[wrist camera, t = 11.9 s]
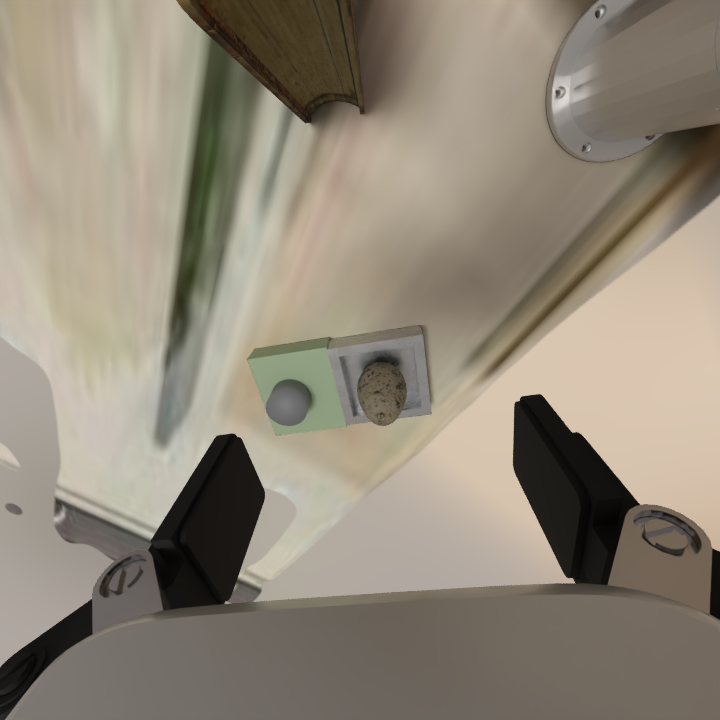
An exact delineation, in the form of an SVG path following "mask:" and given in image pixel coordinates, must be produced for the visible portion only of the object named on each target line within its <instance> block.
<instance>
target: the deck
mask: <svg viewBox="0 0 720 720" xmlns="http://www.w3.org/2000/svg"><path fill="white" fill-rule="evenodd" d="M329 340H330V338H329V337H327V338H321V339H315V340H308V341H302V342H296V343H289V344H283V345H277V346H270V347H264V348H258V349H254V351H253V352H252V353H251V355H250V356H249V357H248V359H247V361H248V364H249V366H250V369H251V372H252V374H253V377H254V380H255V382H256V385H257V387H258V390H259V393H260V395H261V398H262V401H263V403H264V406H265V408H266V411H267V414H268V416H269V419H270V422H271V424H272V427H273V429H274V432H275V435H276V436H277V435H285V434H293V433H301V432H309V431H317V430H325V429H333V428H341V427H347V425H346V422H345V418H344V414H343V411H342V407H341V403H340V399H339V395H338V391H337V387H336V383H335V379H334V375H333V371H332V368H331V364H330V360H329V356H328V352H327V347H328V344H329Z"/></svg>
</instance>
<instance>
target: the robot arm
mask: <svg viewBox="0 0 720 720" xmlns="http://www.w3.org/2000/svg"><path fill="white" fill-rule="evenodd" d="M595 13H596V14H597V18H596V17H595ZM555 91H557V92H558V96H557V97H555ZM546 108H547V117H548V121H549V125H550V129H551V131H552V133H553V135H554V137H555V139H556V141H557V142H558V143H559V144H560V145H561V147H562V148H563V149H564V150H565V151H567V152H568V153H569V154H571V155H572V156H574V157H576V158H579V159H582V160H584V161H591V162H606V161H613V160H618V159H622V158H625V157H628V156H630V155H633V154H635V153H637V152H639V151H640V150H642V149H644V148H646V147H647V146H649V145H650V144H652V143H653V142H654V141H655V140H657V139H658V138H659V137H660V136H662V135H663V134H664V133H668V132H674V131H680V130H685V129H691V128H697V127H703V126H708V125H714V124H720V0H598V1H596V2H595V3H594V4H593V5H592V6H591V7H590V8H589V9H588V10H587V11H586V12H585V13H584V14H583V15H582V16H581V17H580V18H579V19H578V21H577V22H576V23H575V25H574V26H573V27H572V28H571V30H570V31H569V32H568V34H567V36H566V38H565V39H564V41H563V43H562V45H561V46H560V48H559V50H558V53H557V55H556V58H555V60H554V63H553V65H552V68H551V72H550V76H549V80H548V84H547V95H546ZM645 136H646V137H645ZM583 146H584V150H583V151H582V147H583ZM513 447H514V448H513V467H514V471H515V474H516V476H517V478H518V480H519V483H520V485H521V486H522V489H523V491H524V493H525V495H526V497H527V499H528V501H529V503H530V505H531V507H532V509H533V511H534V513H535V515H536V517H537V519H538V521H539V523H540V526H541V528H542V530H543V532H544V534H545V536H546V538H547V540H548V542H549V544H550V546H551V548H552V550H553V552H554V554H555V556H556V558H557V560H558V563H559V565H560V567H561V569H562V571H563V573H564V574H565V576H566V577H567V578H573V579H574V581H575V583H576V584H533V585H513V586H512V585H511V586H490V587H474V588H457V589H441V590H425V591H424V590H423V591H407V592H392V593H378V594H377V593H376V594H361V595H347V596H332V597H316V598H302V599H288V600H275V601H260V602H246V603H233V604H224V603H225V601H228V600H229V599H230V597H231V595H232V592H233V589H234V586H235V584H236V581H237V578H238V575H239V572H240V569H241V566H242V563H243V560H244V558H245V555H246V552H247V549H248V546H249V543H250V540H251V537H252V535H253V532H254V529H255V526H256V523H257V520H258V517H259V514H260V511H261V509H262V505H263V503H264V499H265V491H264V488H263V486H262V484H261V482H260V479H259V477H258V475H257V473H256V470H255V468H254V466H253V464H252V461H251V459H250V457H249V454H248V452H247V450H246V448H245V445H244V443H243V441H242V439H241V438H240V437H237V436H236V435H235V434H226V435H218V436H216V438H215V439H214V440H213V442H212V444H211V445H210V447H209V448H208V450H207V452H206V453H205V455H204V456H203V458H202V460H201V461H200V463H199V464H198V466H197V468H196V469H195V471H194V472H193V474H192V476H191V477H190V479H189V480H188V482H187V484H186V485H185V487H184V488H183V490H182V492H181V493H180V495H179V496H178V498H177V500H176V501H175V503H174V504H173V506H172V508H171V509H170V511H169V512H168V514H167V516H166V517H165V519H164V520H163V522H162V524H161V525H160V527H159V528H158V530H157V531H156V533H155V535H154V536H153V538H152V539H151V543H152V545H151V546H150V548H149V550H148V551H147V550H135V551H131V552H129V553H127V554H125V555H123V556H121V557H120V558H118V559H117V560H116V561H114V562H113V563H112V564H111V565H110V566H109V567H108V568H107V569H106V570H105V571H104V572H103V573H102V575H101V576H100V577H99V578H98V580H97V582H96V584H95V586H94V588H93V594H92V599H91V600H90V601H88V603H86V604H84V605H83V606H82V607H80V608H79V609H77V610H76V611H74V612H73V613H72V614H70V615H69V616H67V617H66V618H64V619H63V620H62V621H60V622H59V623H57V624H56V625H55V626H53V627H52V628H50V629H49V630H47V631H46V632H45V633H43V634H42V635H40V636H39V637H38V638H36V639H35V640H33V641H32V642H31V643H29V644H28V645H26V646H25V647H23V648H22V649H21V650H19V651H18V652H17V653H15V654H14V655H13V656H12V657H10V658H9V659H8V660H7V661H6V662H5V663H4V664H3V665H2V666H1V667H0V720H720V552H719V551H717V550H714V549H712V547H711V542H710V540H709V538H708V537H707V535H706V534H705V532H704V531H703V530H702V529H701V528H700V527H699V526H698V525H697V524H696V523H695V522H693V521H692V520H690V519H689V518H687V517H686V516H684V515H683V514H681V513H678V512H676V511H674V510H672V509H669V508H665V507H662V506H658V505H648V504H645V505H640V504H639V503H638V502H637V501H636V500H635V498H634V497H633V496H632V495H631V493H630V492H629V491H628V490H627V489H626V487H625V486H624V485H623V484H622V483H621V481H620V480H619V479H618V478H617V477H616V475H615V474H614V473H613V472H612V470H611V469H610V468H609V467H608V466H607V464H606V463H605V462H604V461H603V460H602V458H601V457H600V456H599V455H598V453H597V452H596V451H595V450H594V449H593V448H592V446H591V445H590V444H589V443H588V442H587V440H586V439H585V438H584V437H583V436H582V435H581V434H580V433H577V432H576V433H572V432H571V431H570V430H569V428H568V427H567V426H566V425H565V423H564V422H563V421H562V420H561V418H560V417H559V416H558V415H557V413H556V412H555V411H554V410H553V408H552V407H551V406H550V405H549V403H548V402H547V401H546V399H545V398H544V397H543V396H542V395H540V394H538V395H530V396H522V397H521V398H520V401H518V402H515V407H514V445H513Z"/></svg>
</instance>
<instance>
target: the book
mask: <svg viewBox="0 0 720 720" xmlns="http://www.w3.org/2000/svg"><path fill="white" fill-rule="evenodd" d="M177 2H178V3H179V5H180V6H181V7H182V9H183V10H184V11H185V12H186V13H187V14H188V15H189V17H190V18H191V19H192V20H193V21H194V22H195V23H196V24H197V25H198V26H199V27H200V28H201V29H203V30H204V31H205V32H206V33H207V34H208V35H209V36H210V37H211V38H212V39H213V40H215V41H216V42H217V43H218V44H219V45H220V46H221V47H222V48H223V49H224V50H226V51H227V52H228V53H229V54H230V55H231V56H232V57H233V58H234V59H235V60H236V61H238V62H239V63H240V64H241V65H242V66H243V67H244V68H245V69H246V70H247V71H249V72H250V73H251V74H252V75H253V76H254V77H255V78H256V79H257V80H258V81H260V82H261V83H262V84H263V85H264V86H265V87H266V88H267V89H268V90H269V91H271V92H272V93H273V94H274V95H275V96H276V97H277V98H278V99H279V100H280V101H281V102H283V103H284V104H285V105H286V106H287V107H288V108H289V109H290V110H291V111H292V112H294V113H295V114H296V115H297V116H298V117H299V118H300V119H301V120H302V121H304V122H305V123H311V115H312V114H313V112H314V111H315V110H316V109H317V108H318V107H320V106H321V105H323V104H324V103H327V102H331V101H344V102H348V103H351V104H354V105H356V106H358V107H359V109H360V114H364V113H365V111H364V101H363V91H362V82H361V72H360V62H359V53H358V43H357V33H356V24H355V14H354V4H353V0H177Z"/></svg>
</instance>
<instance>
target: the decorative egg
mask: <svg viewBox="0 0 720 720" xmlns="http://www.w3.org/2000/svg"><path fill="white" fill-rule="evenodd" d="M406 394H407V387H406V382H405V379H404V377H403V375H402V373H401V372H400V371H399V370H398V369H397V368H396V367H395V366H393V365H391V364H389V363H385V362H378V363H374V364H372V365H370V366H368V367H367V368H366V369H365V370H364V371H363V372H362V374H361V375H360V377H359V380H358V384H357V396H358V400H359V404H360V406H361V408H362V410H363V412H364V414H365V415H366V417H367V418H368V419H369V420H370V421H372V422H373V423H375V424H377V425H380V426H386V425H389V424H391V423H393V422H394V421H395V420H396V419H397V418H398V416H399V415H400V413H401V411H402V409H403V407H404V404H405V401H406Z"/></svg>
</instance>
